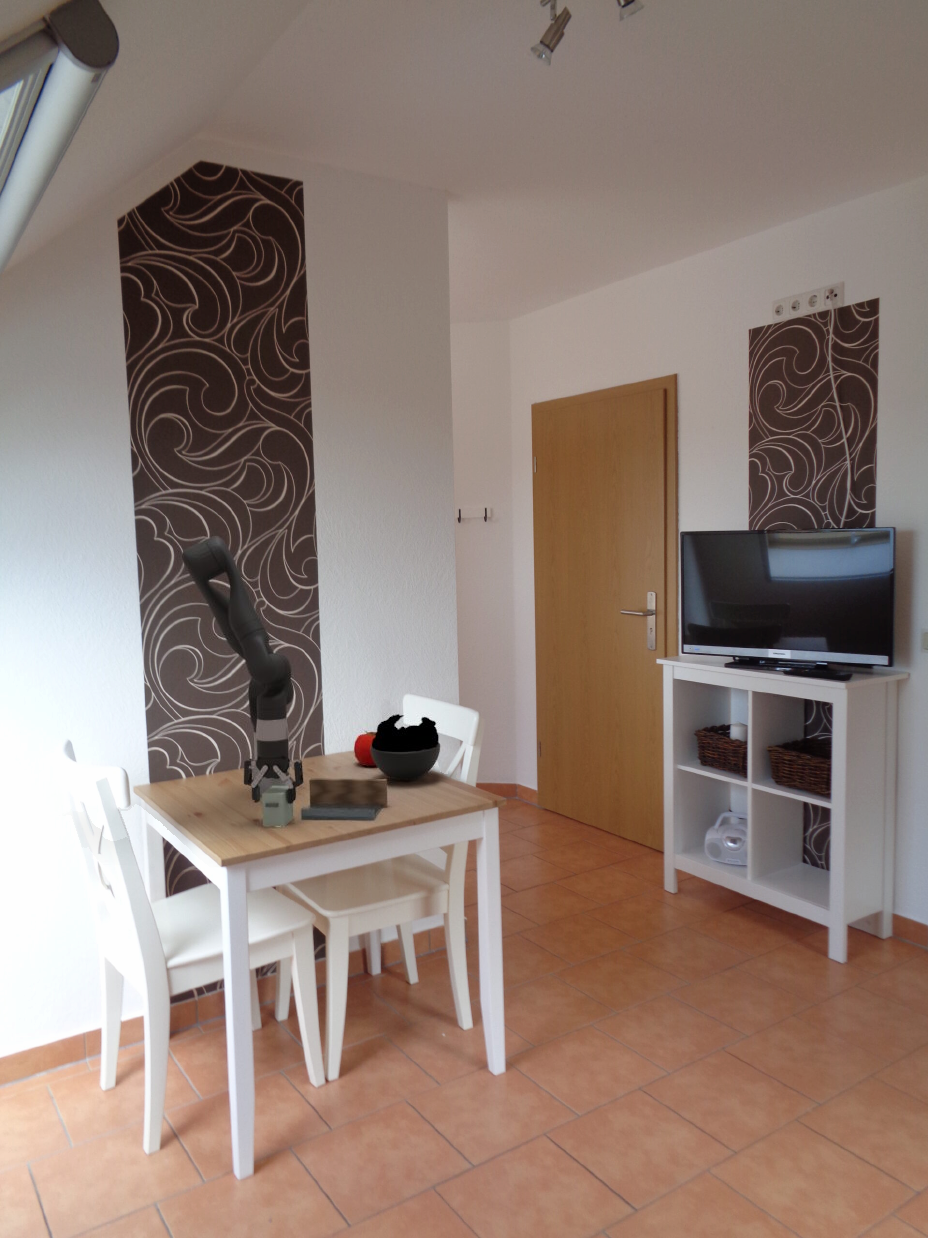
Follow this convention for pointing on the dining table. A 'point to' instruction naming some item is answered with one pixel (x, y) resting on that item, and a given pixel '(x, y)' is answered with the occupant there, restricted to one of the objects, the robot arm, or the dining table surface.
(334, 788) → the wall board
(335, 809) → the dark grey flat slab
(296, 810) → the dining table surface
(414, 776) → the coal bowl
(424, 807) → the dining table surface
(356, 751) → the tomato
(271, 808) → the cabinet
